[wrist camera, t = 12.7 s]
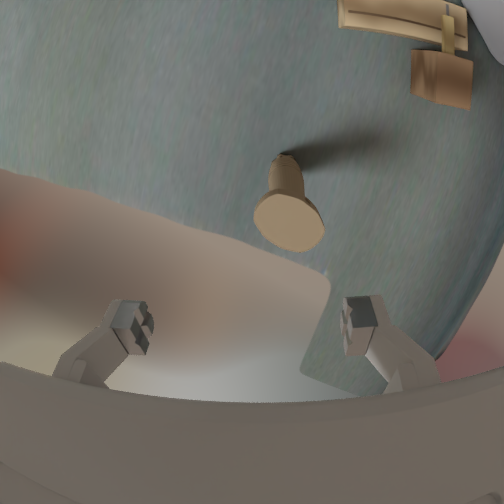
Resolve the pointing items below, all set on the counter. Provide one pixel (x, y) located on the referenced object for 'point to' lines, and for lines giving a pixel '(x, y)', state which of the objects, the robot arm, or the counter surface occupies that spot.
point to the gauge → (442, 72)
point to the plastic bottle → (489, 23)
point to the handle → (288, 209)
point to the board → (404, 19)
